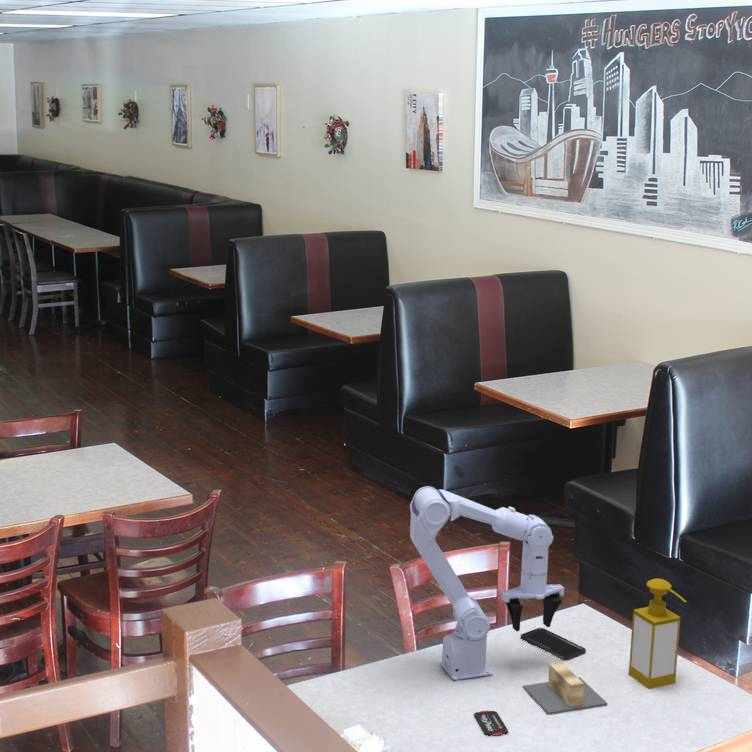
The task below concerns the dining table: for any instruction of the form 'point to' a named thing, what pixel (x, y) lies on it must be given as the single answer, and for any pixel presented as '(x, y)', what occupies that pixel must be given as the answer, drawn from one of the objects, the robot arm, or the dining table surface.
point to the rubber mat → (555, 704)
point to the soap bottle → (655, 639)
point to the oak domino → (566, 684)
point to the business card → (490, 723)
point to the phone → (553, 644)
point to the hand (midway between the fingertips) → (531, 627)
